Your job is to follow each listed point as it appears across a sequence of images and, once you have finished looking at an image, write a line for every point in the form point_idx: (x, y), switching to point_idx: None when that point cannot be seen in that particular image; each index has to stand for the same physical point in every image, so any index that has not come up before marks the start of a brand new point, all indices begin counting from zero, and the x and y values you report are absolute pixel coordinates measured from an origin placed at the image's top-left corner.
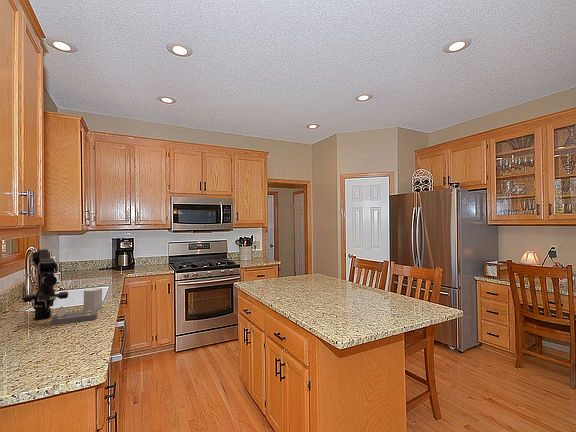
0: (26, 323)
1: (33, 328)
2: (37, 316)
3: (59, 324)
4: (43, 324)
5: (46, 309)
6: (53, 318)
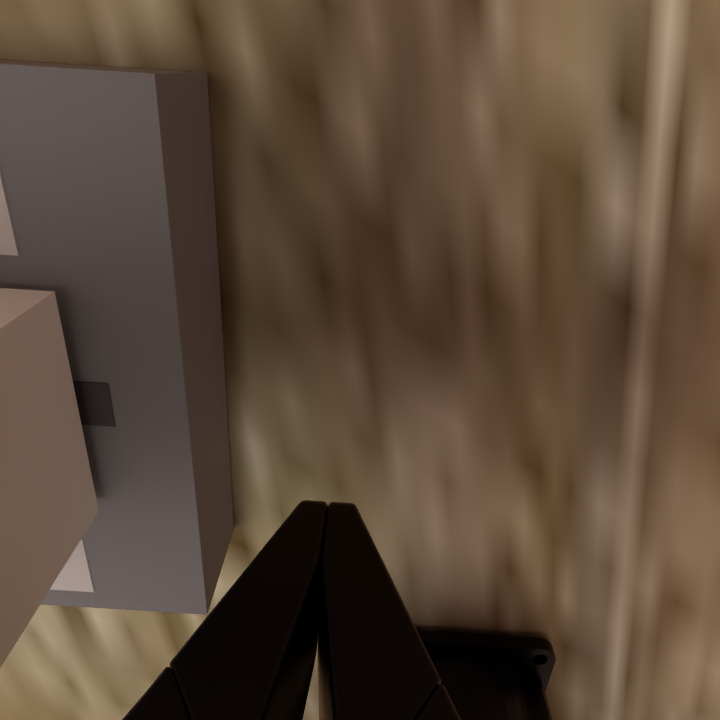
0: (663, 525)
1: (572, 40)
2: (516, 701)
3: (20, 61)
4: (387, 297)
5: (308, 577)
6: (133, 239)
